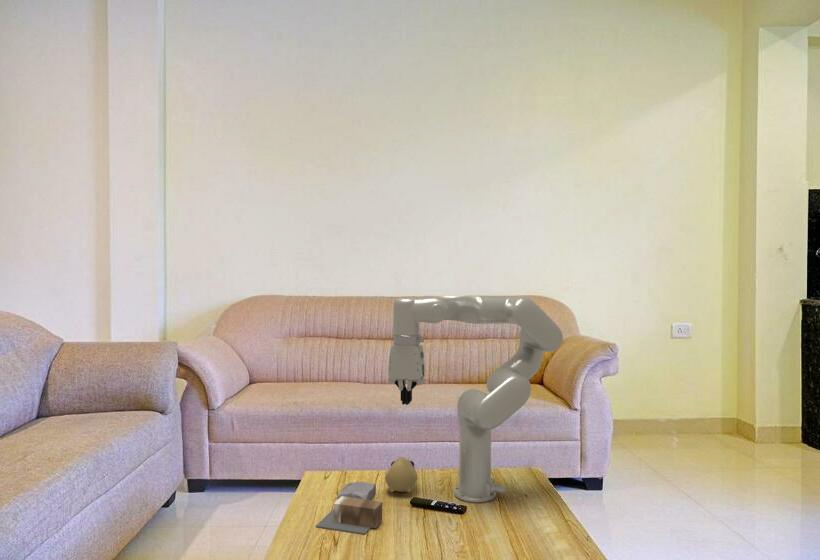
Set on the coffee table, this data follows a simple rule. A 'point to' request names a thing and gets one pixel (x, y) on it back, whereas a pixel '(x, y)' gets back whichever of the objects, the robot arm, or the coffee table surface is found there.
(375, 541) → the coffee table surface
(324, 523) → the rubber mat
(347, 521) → the walnut block
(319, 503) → the coffee table surface
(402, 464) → the tan rounded figure
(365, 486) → the stone block
